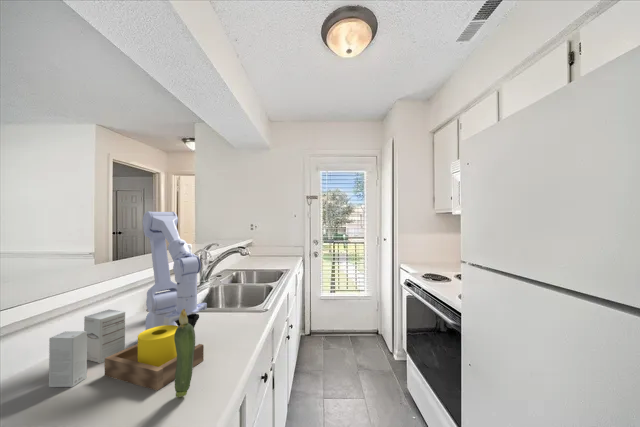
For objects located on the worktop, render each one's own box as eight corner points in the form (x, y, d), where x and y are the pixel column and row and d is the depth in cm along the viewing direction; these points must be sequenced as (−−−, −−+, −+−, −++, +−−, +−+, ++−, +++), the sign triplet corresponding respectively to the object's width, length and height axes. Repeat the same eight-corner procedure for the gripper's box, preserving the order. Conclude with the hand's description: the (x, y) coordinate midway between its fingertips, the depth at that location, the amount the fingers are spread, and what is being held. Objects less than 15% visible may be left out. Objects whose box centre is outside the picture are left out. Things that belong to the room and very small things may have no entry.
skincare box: (87, 377, 70) (88, 330, 70) (72, 387, 65) (72, 337, 66) (64, 377, 70) (65, 330, 70) (47, 387, 65) (48, 338, 66)
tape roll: (145, 360, 78) (145, 327, 78) (183, 355, 81) (183, 323, 81) (131, 379, 68) (131, 342, 69) (174, 373, 71) (174, 337, 71)
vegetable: (179, 389, 64) (179, 304, 65) (198, 388, 64) (198, 304, 65) (170, 401, 60) (170, 310, 60) (190, 400, 60) (190, 310, 60)
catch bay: (104, 375, 70) (104, 358, 70) (155, 350, 84) (155, 335, 84) (157, 390, 64) (157, 371, 64) (203, 360, 77) (203, 344, 77)
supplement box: (82, 360, 79) (83, 316, 79) (109, 348, 86) (110, 308, 86) (99, 364, 76) (99, 319, 76) (126, 352, 83) (126, 310, 83)
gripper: (176, 303, 76) (176, 352, 75) (214, 290, 89) (214, 332, 89) (158, 301, 78) (158, 348, 78) (197, 289, 92) (197, 329, 91)
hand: (187, 339), depth 84 cm, fingers closed
